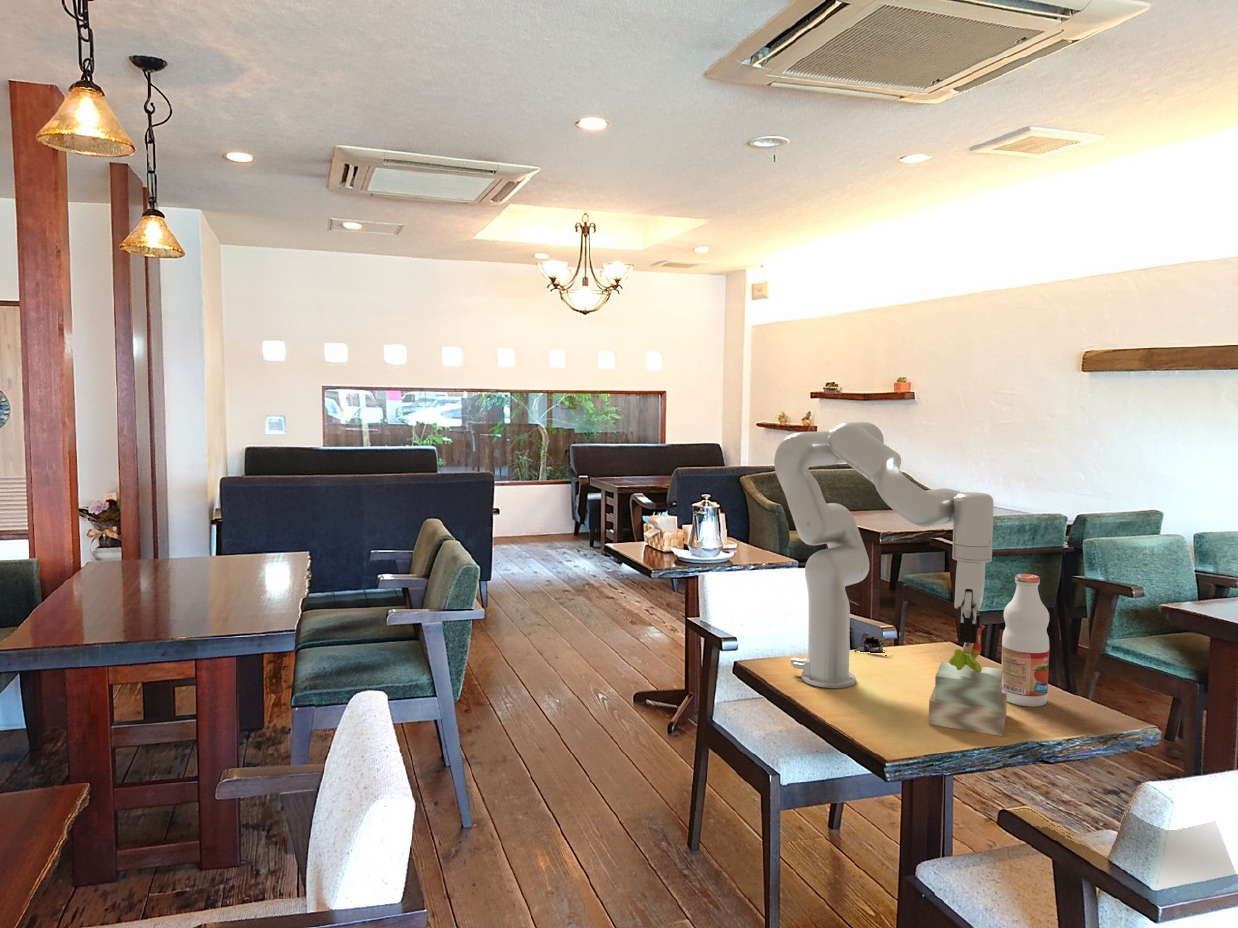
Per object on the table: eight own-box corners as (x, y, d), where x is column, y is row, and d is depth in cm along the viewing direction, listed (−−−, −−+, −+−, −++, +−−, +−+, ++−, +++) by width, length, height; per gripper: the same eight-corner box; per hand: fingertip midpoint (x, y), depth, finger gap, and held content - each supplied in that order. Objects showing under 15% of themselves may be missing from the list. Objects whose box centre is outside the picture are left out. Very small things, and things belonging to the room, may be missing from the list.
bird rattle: (953, 673, 178) (946, 665, 171) (960, 621, 181) (952, 612, 174) (985, 678, 175) (978, 671, 168) (991, 625, 178) (985, 616, 171)
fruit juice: (1000, 690, 193) (1004, 570, 191) (1046, 696, 189) (1050, 573, 187) (1000, 703, 184) (1003, 578, 182) (1048, 710, 181) (1052, 581, 179)
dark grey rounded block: (846, 653, 224) (846, 636, 224) (855, 646, 230) (855, 630, 230) (893, 660, 217) (893, 643, 217) (901, 654, 223) (901, 637, 223)
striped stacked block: (928, 724, 173) (929, 676, 172) (936, 704, 184) (937, 659, 184) (1003, 736, 166) (1004, 686, 166) (1006, 714, 178) (1007, 668, 177)
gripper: (956, 544, 182) (954, 625, 184) (948, 558, 167) (945, 646, 168) (994, 547, 179) (991, 630, 180) (989, 561, 164) (986, 651, 165)
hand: (969, 637), depth 174 cm, fingers closed on bird rattle, 6 cm apart
